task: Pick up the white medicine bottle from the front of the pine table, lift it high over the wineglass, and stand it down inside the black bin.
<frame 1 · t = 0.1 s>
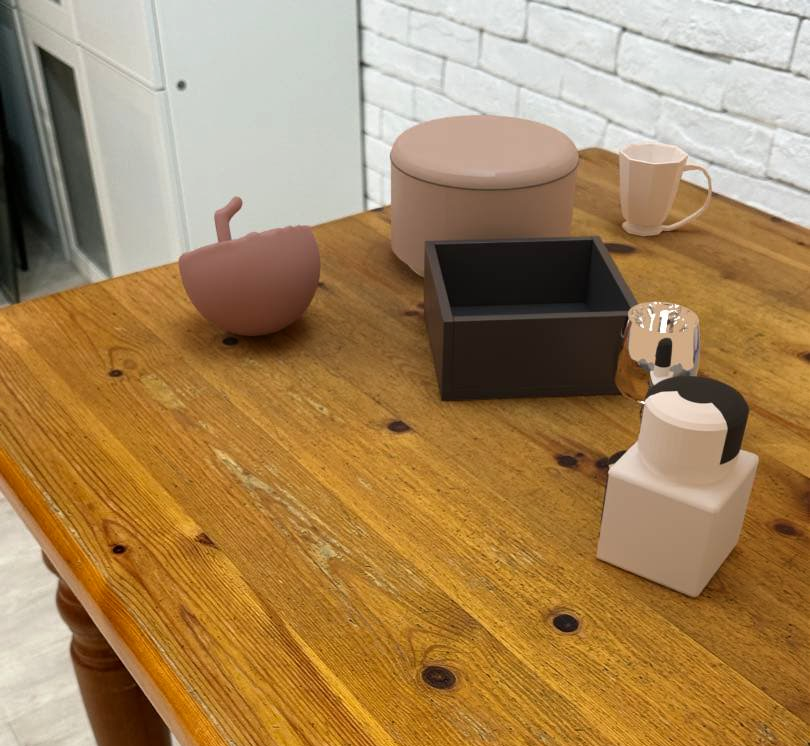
coconut drink: (256, 330, 94), on the table
wineglass: (637, 469, 77), on the table
black bin: (521, 351, 90), on the table
cup: (656, 231, 112), on the table
container: (479, 259, 106), on the table
medicine bottle: (666, 553, 69), on the table
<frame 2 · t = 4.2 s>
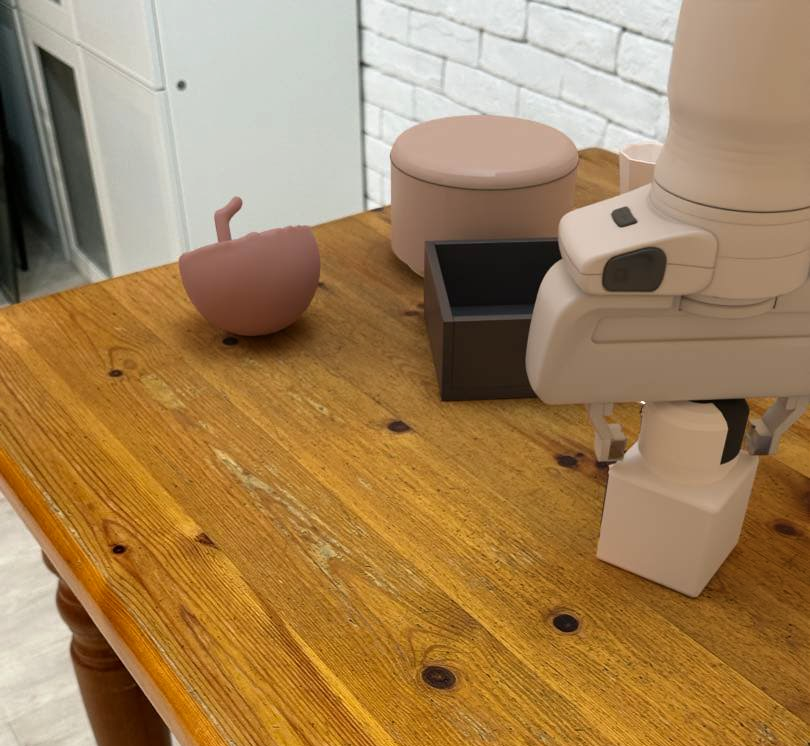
hand: (683, 453, 64), 8 cm above the table, tool pointing down
medicine bottle: (666, 553, 69), on the table, touching gripper
everything else where it was.
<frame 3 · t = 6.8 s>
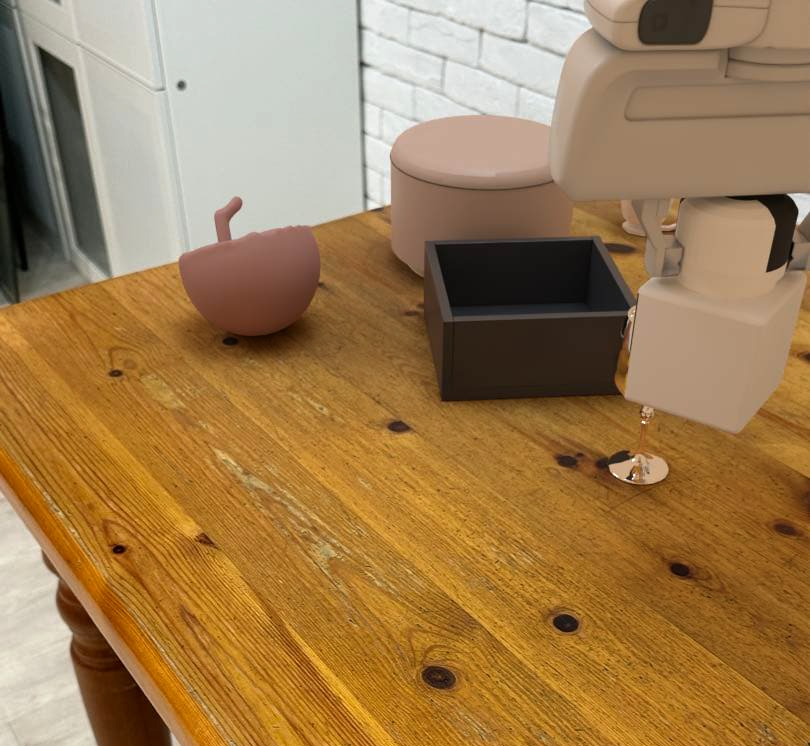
hand: (726, 270, 57), 20 cm above the table, tool pointing down, fingers closed on medicine bottle, 6 cm apart
medicine bottle: (701, 395, 62), point 12 cm above the table, touching gripper
everything else where it was.
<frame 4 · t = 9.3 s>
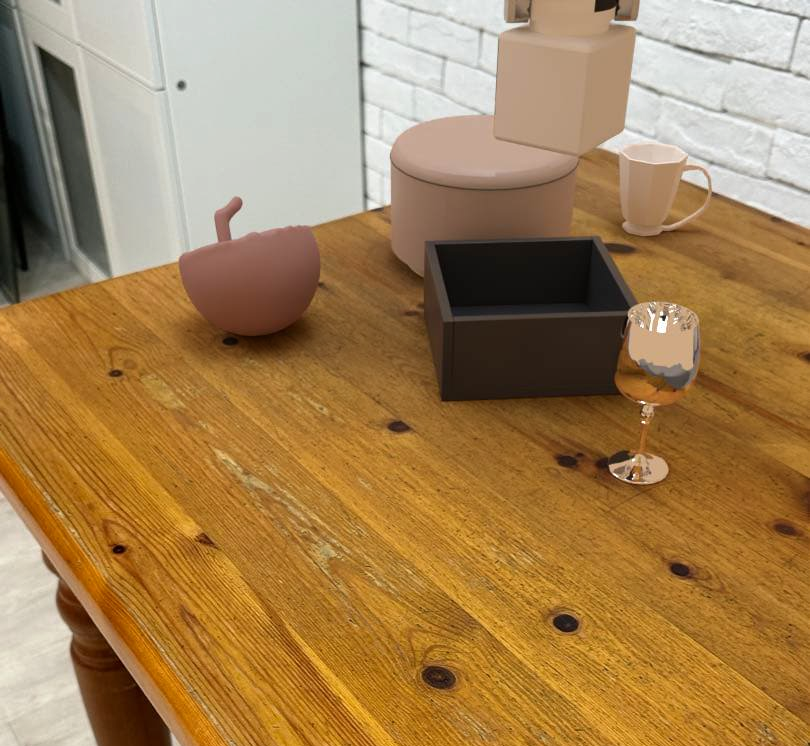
hand: (569, 20, 71), 27 cm above the table, tool pointing down, fingers closed on medicine bottle, 6 cm apart
medicine bottle: (558, 139, 76), point 19 cm above the table, touching gripper
everything else where it was.
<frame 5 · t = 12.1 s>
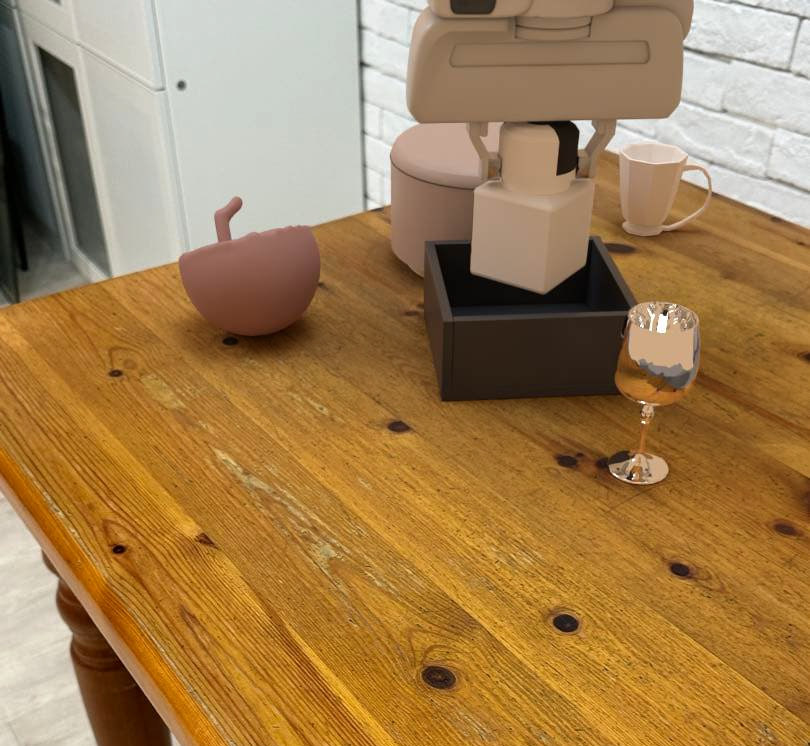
hand: (535, 177, 81), 15 cm above the table, tool pointing down, fingers closed on medicine bottle, 6 cm apart
medicine bottle: (527, 272, 86), point 7 cm above the table, touching gripper
everything else where it was.
when the fingers open (9 cm above the table, at t = 14.3 s): medicine bottle stays where it is, resting on black bin.
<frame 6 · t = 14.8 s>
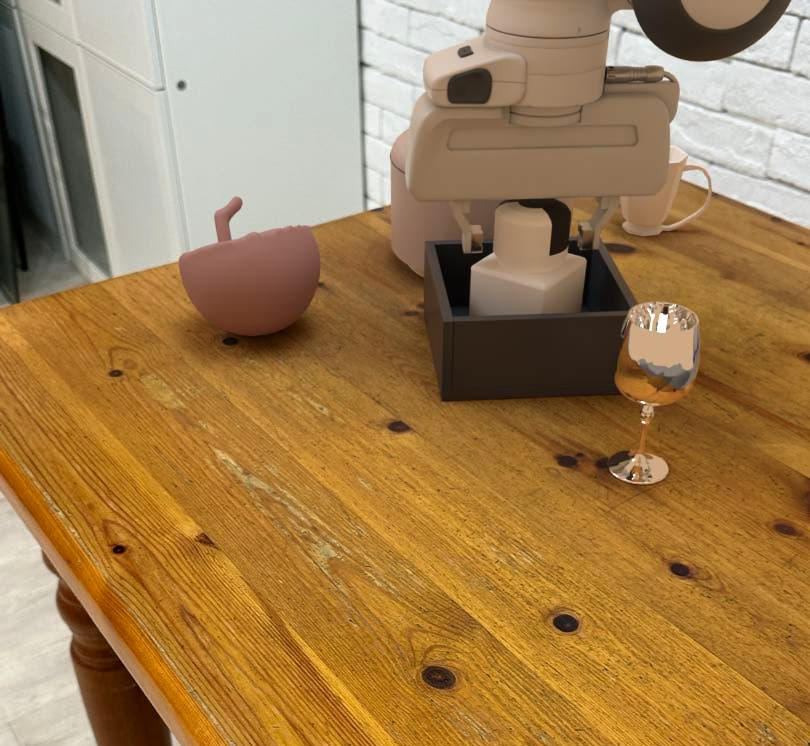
hand: (529, 249, 85), 9 cm above the table, tool pointing down, fingers open, 8 cm apart
medicine bottle: (522, 341, 90), point 1 cm above the table, touching black bin
everything else where it was.
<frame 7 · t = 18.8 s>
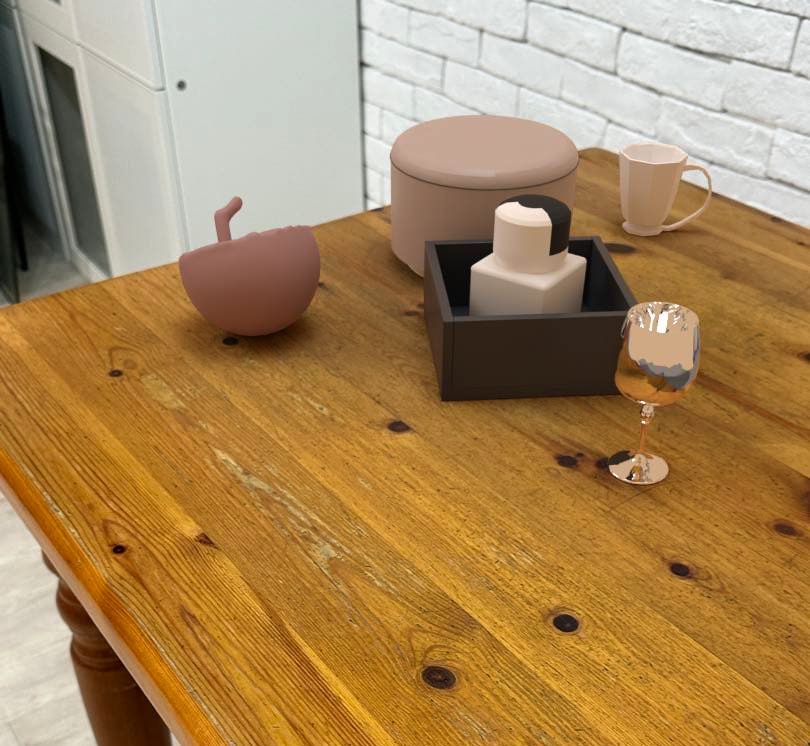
nothing on the table moved.
at the end: medicine bottle inside the target area in the black bin (0.2 cm from its centre), point 0.8 cm above the black bin's base; medicine bottle tilted 0°; the gripper is holding nothing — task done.
